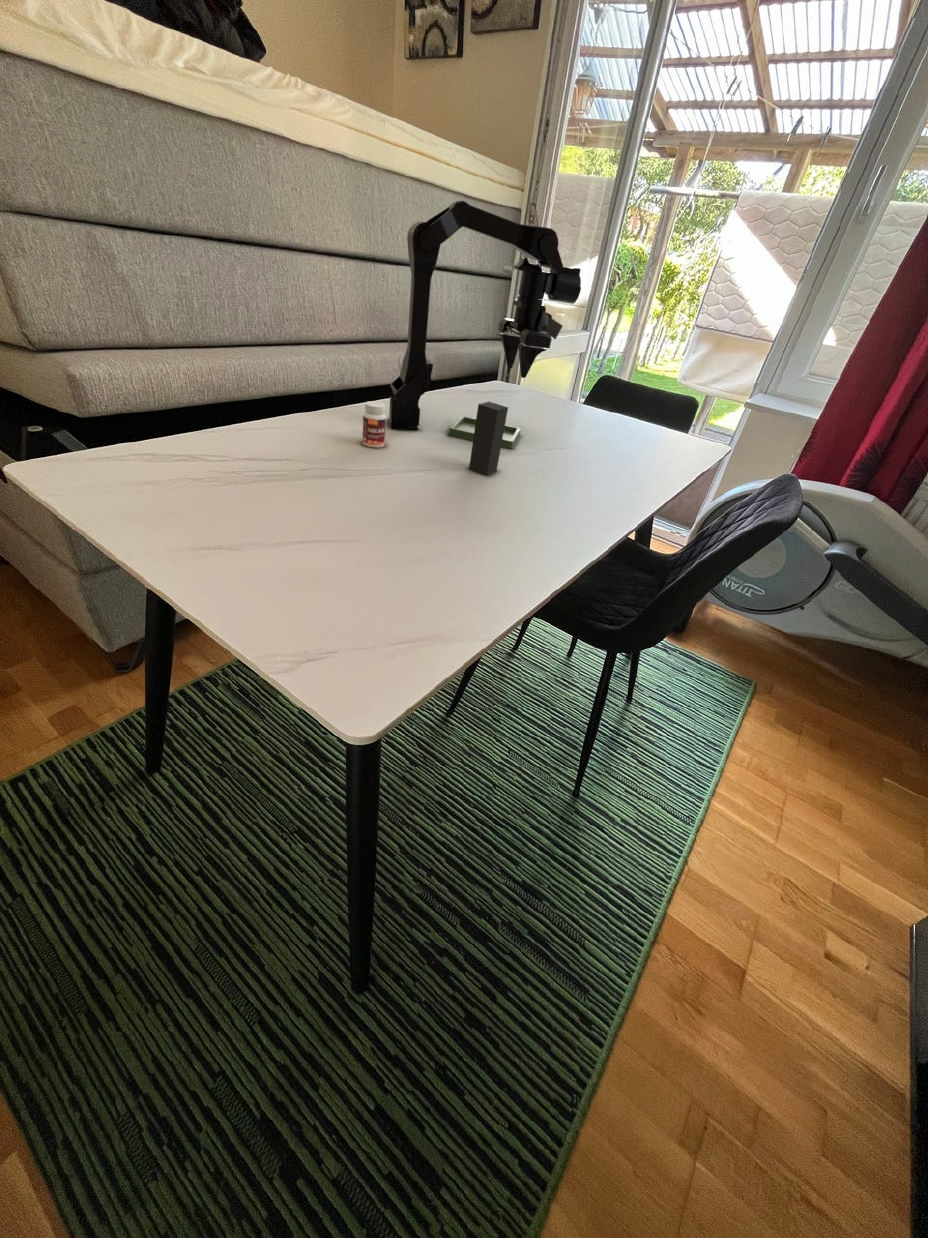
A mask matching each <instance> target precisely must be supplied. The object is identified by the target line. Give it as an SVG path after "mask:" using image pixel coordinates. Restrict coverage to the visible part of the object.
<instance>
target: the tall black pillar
mask: <svg viewBox="0 0 928 1238" xmlns="http://www.w3.org/2000/svg"><path fill="white" fill-rule="evenodd" d="M508 411H509V407H508V406H505V405H501V404H498V403H495V402H492V401H485V402H482V403H478V405H477V412H476V417H475V419H476V424H475V431H474V438H473V441H472V446H471V451H470V460H469V466H468V469H469V470H471V471H474V472H476V473H479V474H481V475H484V476H489V475H491V474H495V473H496V472H497V471H498V466H499V460H500V454H501V450H502V449H501V448H502V447H501V444H502V438H503V433H504V427H505V425H506V423H507V422H506V421H507V416H508Z"/></svg>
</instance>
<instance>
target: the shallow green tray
mask: <svg viewBox="0 0 928 1238" xmlns="http://www.w3.org/2000/svg"><path fill="white" fill-rule="evenodd" d="M475 424H476V417H475V418H474V417H470V416H465V415H461V416H460V417H459V418H458V419H457V420H456V421H455V422H454V423H453V424H452V425H451V426H450V427H449V428H448V436H449V437H454V438H457V439H463V440H468V441H471V442H473V438H474V431H475ZM521 431H522V428H521V427H517V426H513V425H509V424H505V427H504V433H503V438H502V444H501V448H503V449H508V450H513V447H514V446H515V444H516V442H517V440H518V439H519V437H520V435H521Z"/></svg>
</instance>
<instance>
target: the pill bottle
mask: <svg viewBox="0 0 928 1238" xmlns="http://www.w3.org/2000/svg"><path fill="white" fill-rule="evenodd" d="M385 407H386V406H385V404H384V403H383V402H379V401H373V400H372V401H371V400H370V401H369V400H368V401H366V402H365V403H364V412H363V414H362V444H363V445H364V446H365V447H369V448H375V449H376V448H377V449H378V448H382V447H384V446H385V444H386V443H385V439H386V422H387V416H386V414H385V410H386V409H385Z"/></svg>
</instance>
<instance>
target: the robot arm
mask: <svg viewBox="0 0 928 1238" xmlns="http://www.w3.org/2000/svg"><path fill="white" fill-rule="evenodd" d="M462 228H465V229H467V230H469V231H472V232H475V233H478V234H481V235H483V236H486V237H488V238H492V239H494V240H497V241H500V242H503V243H505V244H508V245H509V246H511V247H513V248H514V249H516V251H517V252H519V253H520V254H522V255H524V256H526V257H524V256H523V257H521V259H520V260H519V261H518V262H517V263H515V264H514V265H513V269H514V270H517V271H521V278H520V283H519V289H518V295H517V298H515V299H513V306H515V311H514V317H513V318H507V317H503V318H502V319H500V321H499V322H498V323H499V324H498V332H500V333H499V336H500V339H501V343H502V348H503V352H504V357H505V361H506V362H505V363H506V367H507V369H510V370H511V369H513V367H514V364H515V360H516V357H517V354H518V360H519V374H520V378H522V379H525V378H527V375H528V374H529V371H531V368H532V366H533V364H534V362H535V360H536V359H537V357H538V355H540V354H542V353H543V352H546V351H547V349H551V345H552V340H553V339H554V340H557V338H558V336H559V334H560V332H561V331H562V328H563V325H562V323H559V321H557V320H555V319H553V315H552V314H551V313H549V312H548V311H547V306H546V305H544V299H545V295H547V299H548V300H549V301H551V302H557V303H564V304H569V305H574V304H575V303H576V302H577V301H578V300H579V297H580V293H581V290H582V285H581V284H582V279H581V275H580V274H581V268H578V267H574V266H571V267H568V266H564V264H563V260H562V257H561V254H560V252H559V238H558V233H557V232H556V231H555V230H554V229H553V228H550V227H545V226H538V225H529V224H521V223H518V222H515V221H512V220H510V219H508V218H505V217H502V216H500V215H496V214H494V213H492V212H490V211H486V210H484V209H481V208H479V207H475V206H473V205H470V204H469V203H468V202H467V201H465V200H455V201H452V203H451V204H450V205H449V206H447V207H446V208H445V209H443V210H442V211H439V213H437V214H436V215H434V216H432V217H430V218H429V219H427V220H426V221H416V222H414V223H413V224H412V225H411V226H410V227H409V229H408V231H407V236H406V241H407V243H406V244H407V253H408V261H409V267H410V275H411V278H410V295H409V310H408V311H409V313H408V326H407V327H408V329H407V347H406V351H405V353H404V357H403V359H402V362H401V368H400V373H399V376H397V378H395V379H394V380H393V381H392V382H391V383H390V384H389V387H390V391H391V393H392V395H390V396H389V411H388V412H389V413H388V414H389V415H388V418H387V419H386V422H387V423H388V425H389V426H390V429H392V430H405V431H406V430H408V431H419V427H418V426H419V425H420V419H421V418H420V417H421V408H420V406H419V403H420V399H421V397H422V396H423V395H424V394H425V393H426V392H428V390H429V386H430V384H433V381H432V373H433V367H434V363H433V362H432V361H431V360H430V358H427V354H426V351H427V349H426V348H427V336H428V324H429V312H430V297H431V286H432V277H433V274H434V271H435V268H436V265H437V263H438V258H439V254H440V249H441V245H442V244H443V243H445V241H447V240H449V239H450V238H451V237H452V236H453V235H454V234H455V233H457V232H458V231H459V230H460V229H462ZM528 258H529V259H530V260H533V261H537V263H534V262H529V260H528ZM543 268H547V269H549V271H544V270H543ZM552 338H553V339H552Z"/></svg>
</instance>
